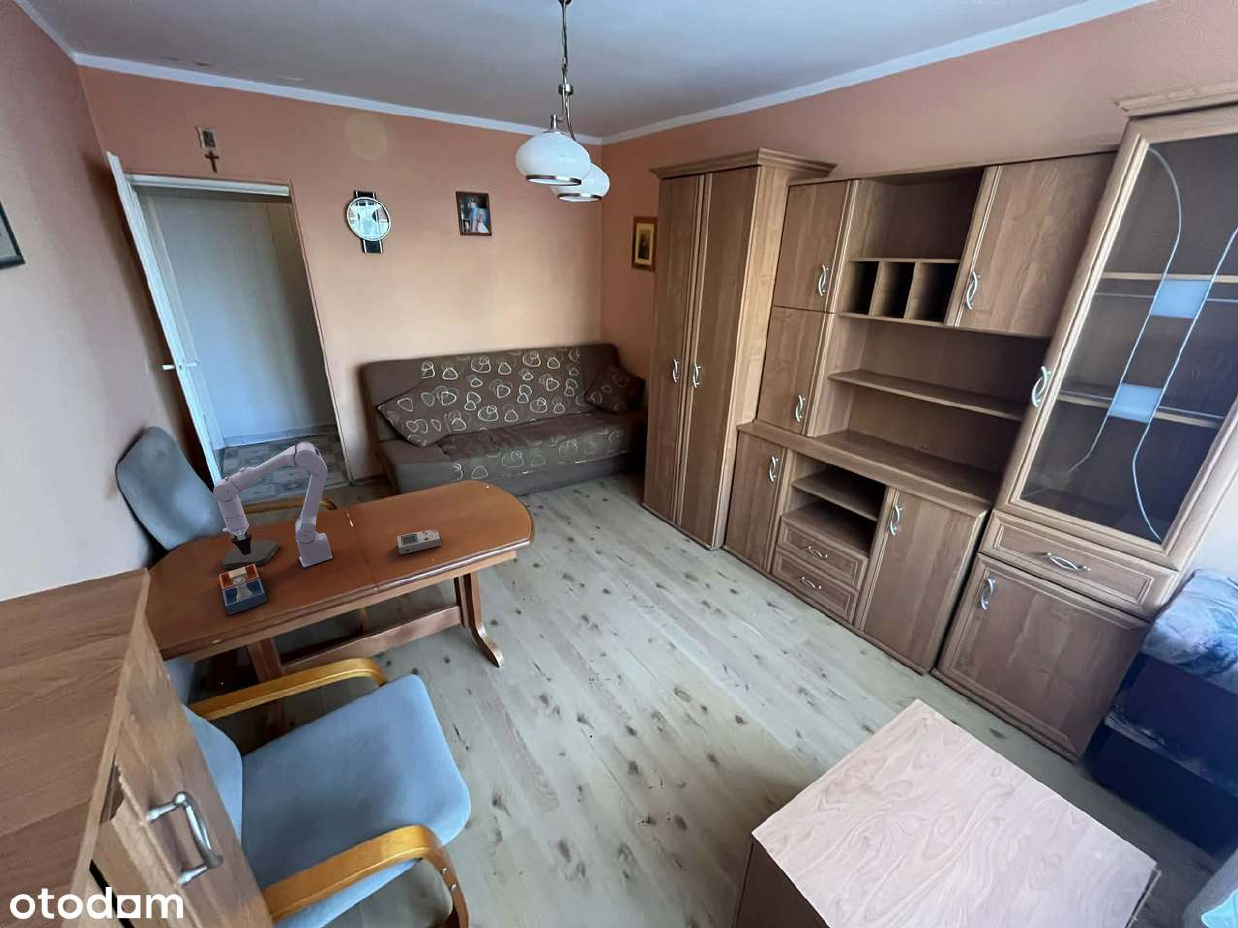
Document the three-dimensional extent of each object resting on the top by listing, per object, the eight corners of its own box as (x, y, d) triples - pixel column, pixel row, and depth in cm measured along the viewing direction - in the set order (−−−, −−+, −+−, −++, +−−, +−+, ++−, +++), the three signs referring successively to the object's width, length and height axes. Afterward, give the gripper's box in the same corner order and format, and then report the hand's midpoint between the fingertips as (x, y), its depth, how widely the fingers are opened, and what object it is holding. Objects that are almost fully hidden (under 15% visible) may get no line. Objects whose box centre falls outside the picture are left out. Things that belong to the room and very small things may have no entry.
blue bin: (262, 586, 170) (259, 578, 168) (267, 601, 162) (264, 592, 161) (225, 599, 163) (222, 590, 162) (229, 615, 156) (225, 606, 155)
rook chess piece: (242, 595, 165) (235, 574, 161) (257, 594, 165) (250, 574, 162) (234, 604, 160) (226, 583, 157) (249, 603, 161) (241, 582, 158)
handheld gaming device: (441, 546, 193) (440, 538, 191) (400, 555, 187) (398, 547, 185) (438, 536, 200) (436, 527, 199) (398, 544, 194) (396, 535, 193)
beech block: (248, 577, 173) (244, 566, 171) (250, 583, 170) (246, 572, 168) (232, 582, 170) (228, 571, 169) (233, 589, 167) (229, 578, 166)
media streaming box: (218, 570, 178) (216, 563, 176) (240, 548, 191) (238, 541, 190) (264, 567, 180) (261, 560, 179) (282, 545, 193) (280, 538, 192)
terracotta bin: (257, 571, 177) (254, 563, 176) (262, 585, 170) (259, 576, 169) (221, 583, 171) (218, 574, 170) (225, 598, 164) (221, 589, 163)
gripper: (216, 510, 169) (228, 544, 174) (221, 526, 159) (233, 562, 164) (241, 503, 173) (252, 537, 178) (247, 519, 163) (259, 555, 168)
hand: (245, 549), depth 172 cm, fingers open, 7 cm apart
